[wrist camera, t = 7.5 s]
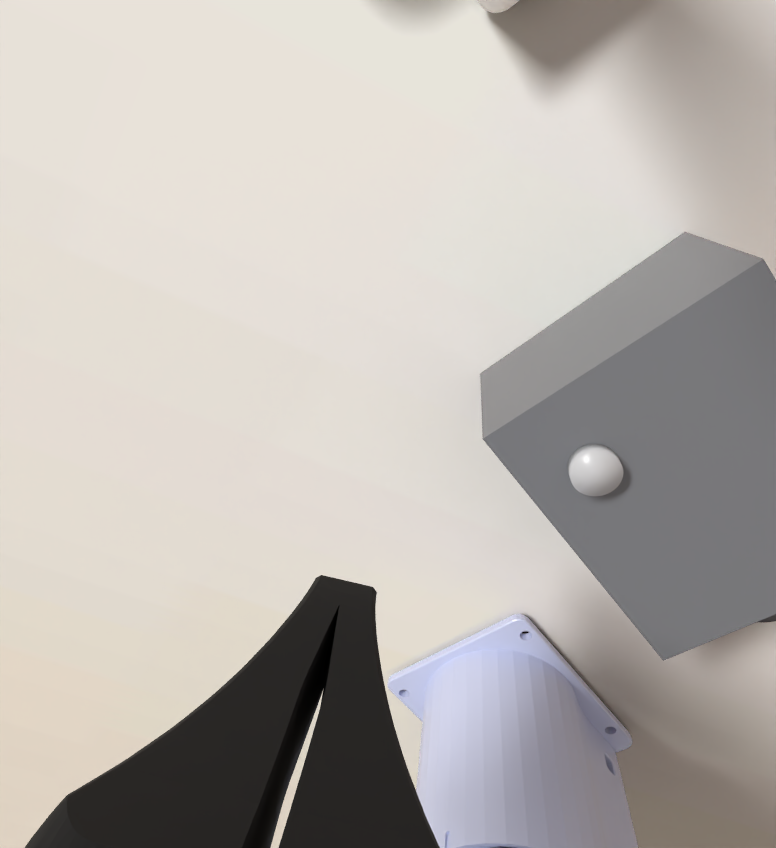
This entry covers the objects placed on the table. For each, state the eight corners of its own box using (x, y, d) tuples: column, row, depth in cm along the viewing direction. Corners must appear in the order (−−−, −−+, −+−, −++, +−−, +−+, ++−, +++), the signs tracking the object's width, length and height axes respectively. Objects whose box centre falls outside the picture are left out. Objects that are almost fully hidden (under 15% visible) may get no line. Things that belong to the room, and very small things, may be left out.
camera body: (844, 484, 21) (972, 595, 16) (642, 580, 24) (691, 701, 19) (688, 229, 18) (777, 259, 13) (480, 373, 21) (482, 446, 16)
